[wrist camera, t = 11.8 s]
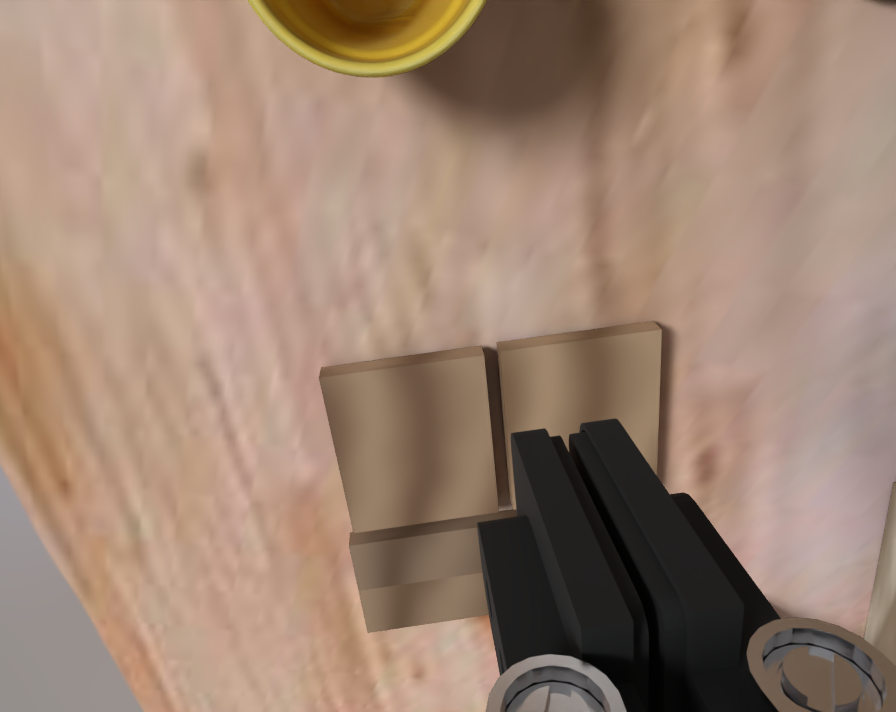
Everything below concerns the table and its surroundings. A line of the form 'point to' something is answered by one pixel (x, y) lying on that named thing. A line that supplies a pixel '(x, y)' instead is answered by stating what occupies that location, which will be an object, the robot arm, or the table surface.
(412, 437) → the plank
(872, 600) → the wooden frame
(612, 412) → the plank
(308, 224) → the table surface
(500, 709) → the robot arm
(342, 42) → the plant pot
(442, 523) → the floor strip
